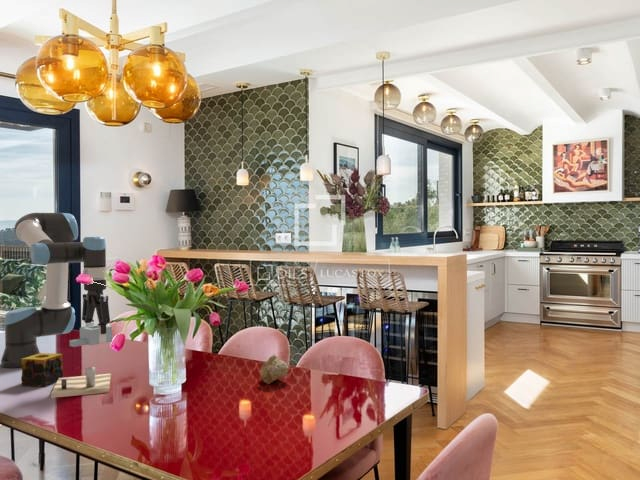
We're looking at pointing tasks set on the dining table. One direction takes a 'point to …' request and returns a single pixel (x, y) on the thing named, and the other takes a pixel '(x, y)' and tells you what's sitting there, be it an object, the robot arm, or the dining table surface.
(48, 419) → the dining table surface
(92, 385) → the post
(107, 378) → the board
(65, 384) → the dowel
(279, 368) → the rock
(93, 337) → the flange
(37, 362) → the yellow black cube
